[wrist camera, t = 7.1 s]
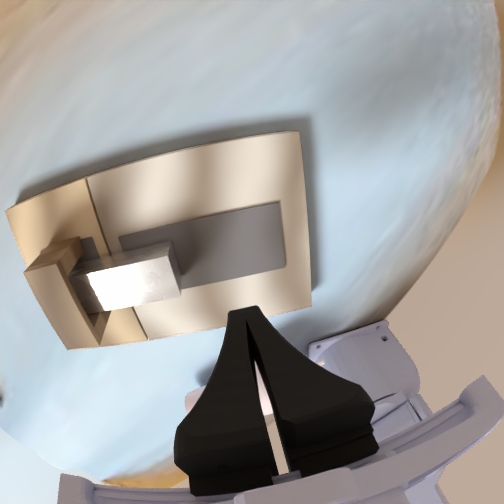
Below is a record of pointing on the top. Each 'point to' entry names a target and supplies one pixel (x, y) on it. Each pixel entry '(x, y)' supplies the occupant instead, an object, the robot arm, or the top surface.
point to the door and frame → (176, 237)
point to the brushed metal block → (127, 278)
